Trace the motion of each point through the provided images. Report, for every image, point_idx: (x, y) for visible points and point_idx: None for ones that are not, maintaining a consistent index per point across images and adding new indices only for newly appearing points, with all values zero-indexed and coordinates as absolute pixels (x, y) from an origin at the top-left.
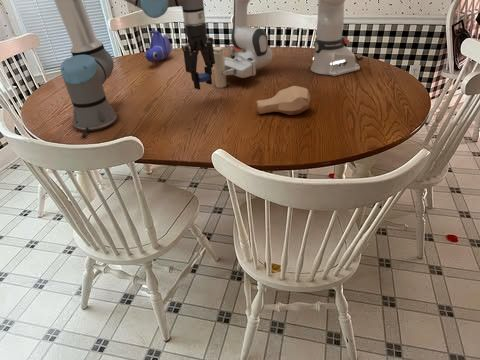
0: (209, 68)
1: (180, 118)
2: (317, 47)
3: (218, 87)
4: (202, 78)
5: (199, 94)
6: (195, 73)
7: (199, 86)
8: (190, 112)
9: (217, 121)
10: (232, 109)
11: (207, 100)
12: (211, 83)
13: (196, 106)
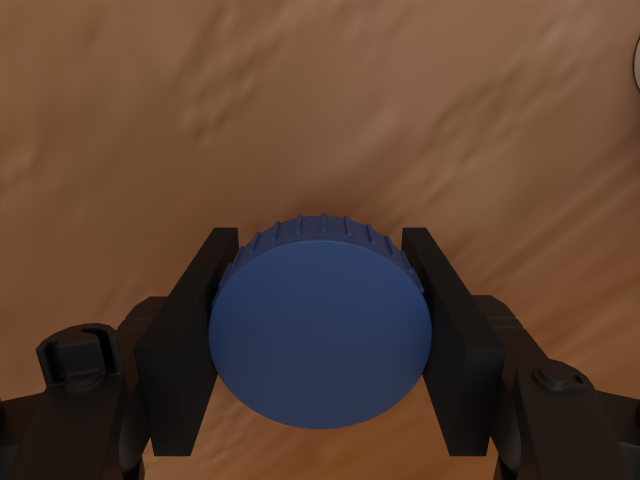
0: (464, 451)
1: (7, 281)
2: None
3: (634, 66)
4: (256, 403)
5: (401, 35)
6: (147, 426)
7: None
8: (114, 264)
9: (173, 462)
10: (341, 428)
11: (345, 205)
12: None
13: (209, 221)
